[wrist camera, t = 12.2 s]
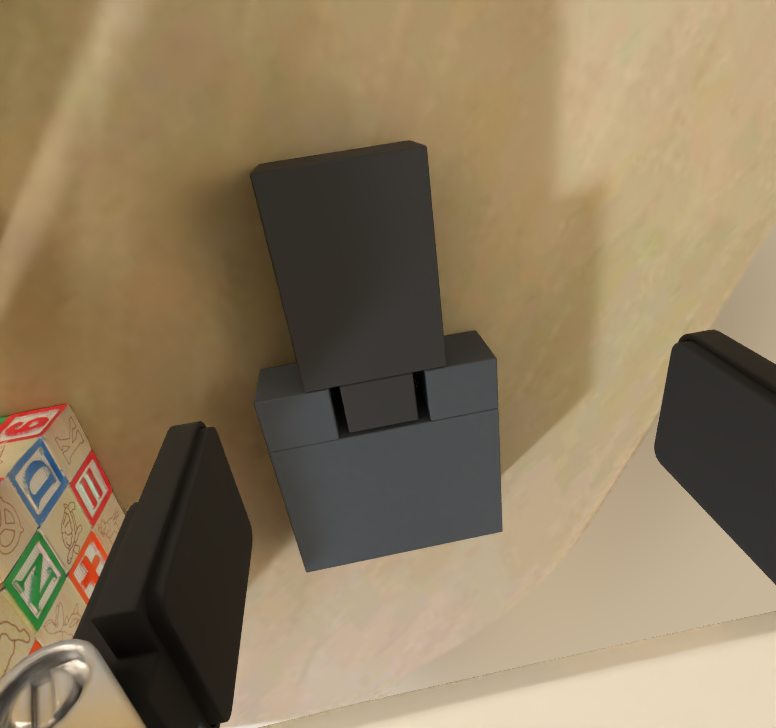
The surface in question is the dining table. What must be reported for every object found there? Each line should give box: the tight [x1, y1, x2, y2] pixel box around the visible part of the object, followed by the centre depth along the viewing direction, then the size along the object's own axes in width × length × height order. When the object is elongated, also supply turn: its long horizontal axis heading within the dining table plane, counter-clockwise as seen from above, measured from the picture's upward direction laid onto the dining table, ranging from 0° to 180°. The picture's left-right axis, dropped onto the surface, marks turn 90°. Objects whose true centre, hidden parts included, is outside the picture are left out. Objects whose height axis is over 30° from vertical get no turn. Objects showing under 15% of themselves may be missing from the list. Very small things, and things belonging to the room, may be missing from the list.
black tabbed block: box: [250, 140, 446, 432], centre depth 24 cm, size 13×7×4 cm, turn 8°
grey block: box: [254, 331, 502, 572], centre depth 28 cm, size 12×12×4 cm
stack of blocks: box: [0, 404, 125, 679], centre depth 26 cm, size 21×6×12 cm, turn 8°
